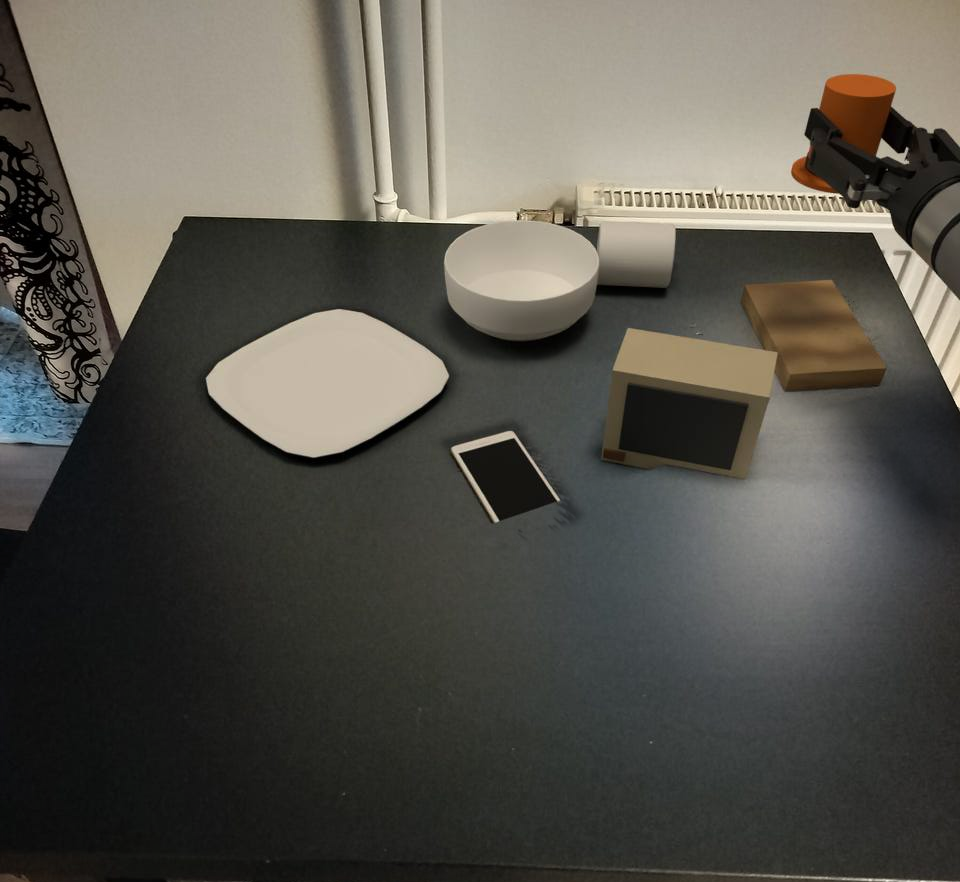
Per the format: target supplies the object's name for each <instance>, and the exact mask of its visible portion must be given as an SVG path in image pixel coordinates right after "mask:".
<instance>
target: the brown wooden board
mask: <svg viewBox="0 0 960 882" xmlns="http://www.w3.org/2000/svg"><path fill="white" fill-rule="evenodd" d="M740 304H741V306H742V307H743V310H744V311H745V314H746V317H748V319H749V322H750V324H751V326H752V328H753V330H754V332H755V334H756V336H757V338H758V340H759V342H760V344H761V346H762V348H763V350H767V351H773V352H778V354H777V360H776V366H775V371H774V373H775V374H776V376H777V378H778V380H779V383H780V384H781V386H782V389H783V390H784V392H794V391H809V390H810V391H811V390H825V389H840V388H853V387H854V388H855V387H869V386H870V387H871V386H880V385H881V384H882V381H883V379H884V376H885V374H886V372H887V369H888V366H886V364H885V362H884V360H883V359H882V358H881V356H880V354H879V353H878V351H877V350H876V348H875V346H874V345H873V343H872V341H871V340H870V338H869V337H868V335H867V334H866V332H865V331H864V329H863V327H862V326H861V324H860V323H859V320H857V318H856V316H855V314H854V313H853V312H852V310H851V308H850V306H849V305H848V303H847V302H846V300H845V299H844V296H843V295H842V294H841V292H840V291H839V289H838V288H837V286H836V284H835V283H834V281H833V280H832V279H822V280H806V281H805V280H804V281H803V280H802V281H786V282H773V283H770V282H769V283H753V284H744V286H743V289H742V294H741V298H740Z"/></svg>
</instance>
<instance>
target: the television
mask: <svg viewBox="0 0 960 882" xmlns="http://www.w3.org/2000/svg"><path fill="white" fill-rule="evenodd" d="M777 354H778V352H773V351H767V350H764V349H760V348H753V347H749V346H748V347H747V346H741V345H735V344H729V343H724V342H717V341H711V340H704V339H699V338H693V337H687V336H680V335H673V334H668V333H661V332H655V331H649V330H644V329H643V330H642V329H637V328H631V327H627V329H626V332H625V334H624V337H623V340H622V343H621V346H620V348H619V351H618V353H617V356H616V359H615V362H614V364H613V368H612V369H611V377H610V378H611V379H610V386H609V395H608V402H607V409H606V416H605V417H606V418H605V425H604V426H605V427H604V435H603V440H602V441H603V443H602V450H601V458H600V460H601V461H603V462H604V461H605V462H610V463H615V464H619V465H625V466H631V467H635V468H641V469H645V470H653V469H656V468H660V467H663V466H665V465H669V466H675V467H679V468H685V469H691V470H695V471H700V472H706V473H712V474H716V475H722V476H725V477H731V478H737V479H743V480H746V478H747V476H748V472H749V469H750V466H751V462H752V458H753V455H754V451H755V450H756V449H755V448H756V445H757V442H758V439H759V435H760V432H761V429H762V425H763V421H764V419H765V415H766V412H767V408H768V405H769V403H770V402H769V401H770V398H771V395H772V394H771V393H772V388H773V382H774V376H775V366H776V360H777Z"/></svg>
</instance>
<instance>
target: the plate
mask: <svg viewBox="0 0 960 882" xmlns="http://www.w3.org/2000/svg"><path fill="white" fill-rule="evenodd" d="M449 378H450V374H449V372H448V370H447V368H446V366H445V364H444V362H443V360H442V358H439V357H438V356H437V355H436V354H435V353H433V352H432V351H431V350H430V349H428V348H426V346H424V345H422V344H421V343H419V342H418V341H416V340H414V339H413V338H411V337H409V336H408V335H406V334H404V333H403V332H401V331H399V330H398V329H396V328H394V327H392V326H390V325H389V324H387V323H385V322H384V321H381V320H379V319H377V318H375V317H372V316H370V315H368V314H367V313H364V312H360V311H359V312H358V311H353V310H348V309H342V308H336V309H331V310H330V309H329V310H325V311H319V312H314V313H311V314H308V315H306V316H303V317H302V318H299V319H297V320H295V321H291V322H289V323H287V324H285V325H283V326H280V327H278V328H277V329H275V330H272V331H271V332H269V333H267V334H265V335H263V336H262V337H259V338H256V340H254V341H252V342H250V343H248V344H246V345H244V346H242V347H241V348H239V349H237V350H236V351H234V352H232V353H231V354H229V355H228V356H226V357H224V358H223V359H222V360H220V361H218V362H217V363H216V364H215V366H214V367H213V369H212V370H211V371H210V372H209V373H208V375H207V376H206V377H205V381H206V386H207V391H208V395H209V396H210V398H211V399H213V401H214V402H215V403H216V404H217V405H218V406H219V407H220V408H221V409H222V410H223V411H224V412H225V413H227V414H228V415H229V416H230V417H232V418H233V419H235V421H237V422H238V423H239V424H241V425H242V426H243V427H245V428H246V429H247V430H248V431H250V432H252V433H253V434H254V435H256V436H257V437H258V438H260V439H261V440H263V441H264V442H266V443H268V444H269V445H272V446H274V447H275V448H277V449H278V450H280V451H282V452H284V453H285V454H288V455H294V456H298V457H304V458H309V459H314V460H315V459H319V458H323V457H324V458H325V457H330V456H335V455H340V454H343V453H346V452H348V451H350V450H352V449H354V448H356V447H358V446H360V445H363V444H364V443H367V442H368V441H370V440H372V439H374V438H375V437H378V436H379V435H380V434H382V433H384V432H385V431H388V430H389V429H391V428H392V427H394V426H396V425H397V424H399V423H401V422H402V421H403V420H406V419H407V418H408V417H410V416H412V415H413V414H415V413H416V412H418V411H419V410H421V409H423V408H424V407H425V406H426V405H427V404H429V403H430V402H431V401H433V400H435V398H437V397H438V396H439V395H440V394H441V393H442V392H443V389H444V388H445V386H446V384H447V382H448V380H449Z"/></svg>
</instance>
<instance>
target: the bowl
mask: <svg viewBox="0 0 960 882" xmlns="http://www.w3.org/2000/svg"><path fill="white" fill-rule="evenodd" d="M443 267H444V280H445V289H446V295H447V301H448V303H449V305H450V307H451V308H452V310H453V311H454V312H455V313H456V314H457V315H458V316H459V317H461V318H462V320H464V322H465V323H466V324H467V325H469V326H470V327H472V328H473V329H475V330H476V331H479V332H481V333H484V334H485V335H487V336H491V337H493V338H497V339H500V340H505V341H511V342H530V341H536V340H541V339H545V338H548V337H552V336H554V335H557V334H559V333H561V332H563V331H566V330H567V329H569V328H570V327H572V326H573V325H574V324H575V323H577V321H578V320H580V319H581V318H582V317H584V315H585V314H587V313H588V311H589V310H590V309H591V307H592V305H593V303H594V301H595V296H596V292H597V286H598V285H597V280H598V272H599V256H598V254H597V248H595V246H594V244H592V243H591V241H589V240H588V239H587V238H586V237H584V236H583V235H582V234H580V233H578V232H576V231H575V230H572V229H570V228H568V227H565V226H562V225H559V224H555V223H550V222H545V221H538V220H526V219H525V220H522V219H516V220H515V219H514V220H503V221H497V222H492V223H491V222H490V223H488V224H483V225H481V226H477V227H474V228H472V229H470V230H467V231H466V232H464V233H462V234H461V235H460V236H458V237H457V238H456V239H454V241H453V242H452V243H451V244H450V245H449V246H448V248H447V250H446V251H445V254H444V259H443Z"/></svg>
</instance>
